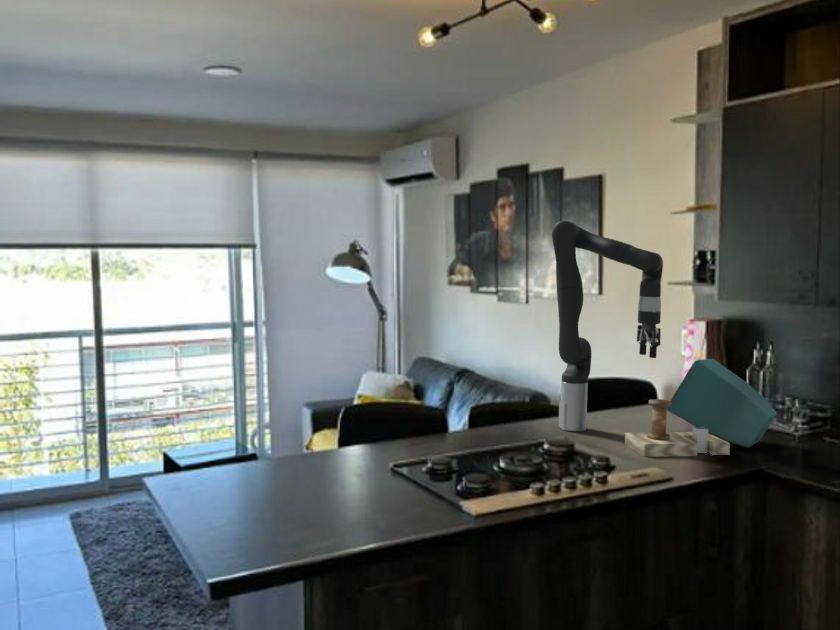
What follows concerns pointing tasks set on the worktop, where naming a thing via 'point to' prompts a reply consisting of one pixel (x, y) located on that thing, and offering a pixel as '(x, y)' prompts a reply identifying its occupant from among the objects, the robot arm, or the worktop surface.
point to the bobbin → (659, 419)
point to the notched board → (673, 445)
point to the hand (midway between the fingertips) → (647, 356)
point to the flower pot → (722, 404)
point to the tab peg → (700, 438)
